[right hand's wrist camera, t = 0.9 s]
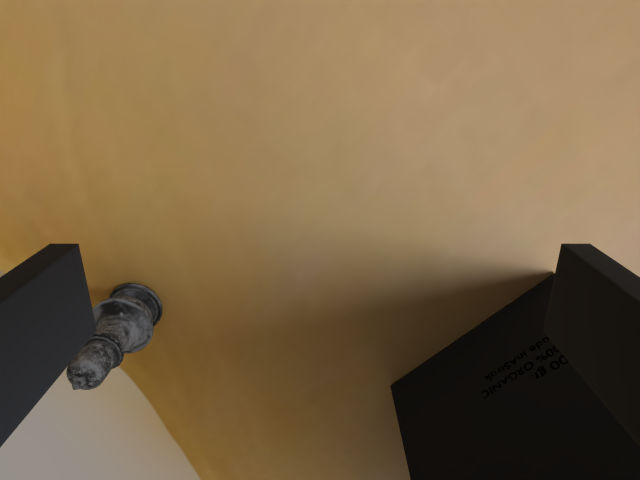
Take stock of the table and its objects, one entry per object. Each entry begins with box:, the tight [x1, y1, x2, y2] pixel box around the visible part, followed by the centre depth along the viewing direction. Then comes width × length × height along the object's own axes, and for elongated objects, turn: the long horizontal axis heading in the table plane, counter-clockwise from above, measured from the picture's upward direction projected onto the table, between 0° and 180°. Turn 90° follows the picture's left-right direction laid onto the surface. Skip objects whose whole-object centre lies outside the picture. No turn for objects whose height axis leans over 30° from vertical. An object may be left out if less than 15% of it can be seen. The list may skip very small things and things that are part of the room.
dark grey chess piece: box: [67, 283, 162, 390], centre depth 39 cm, size 6×6×12 cm
